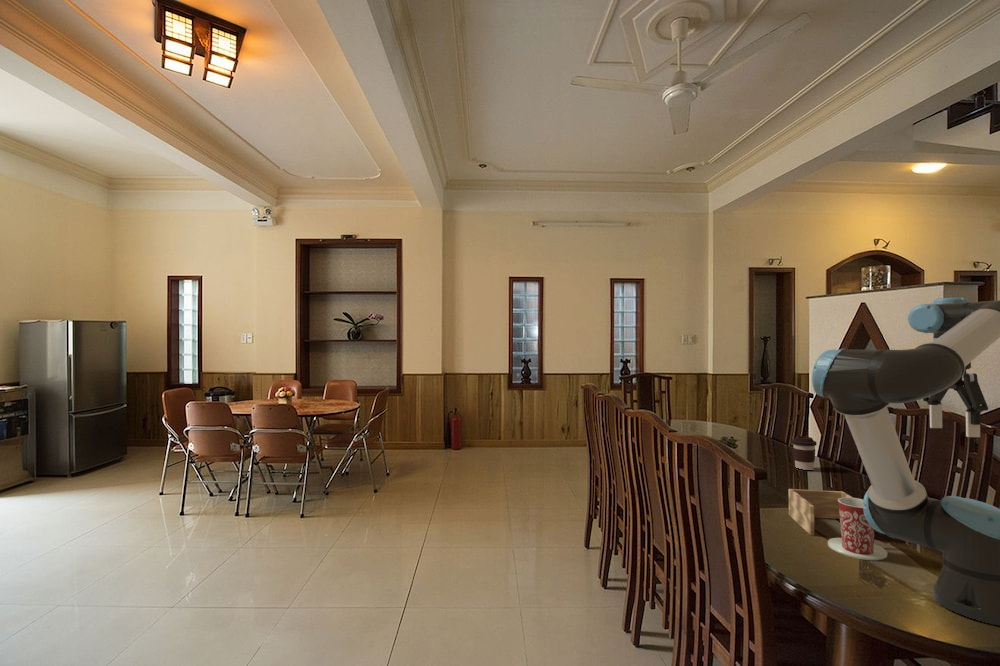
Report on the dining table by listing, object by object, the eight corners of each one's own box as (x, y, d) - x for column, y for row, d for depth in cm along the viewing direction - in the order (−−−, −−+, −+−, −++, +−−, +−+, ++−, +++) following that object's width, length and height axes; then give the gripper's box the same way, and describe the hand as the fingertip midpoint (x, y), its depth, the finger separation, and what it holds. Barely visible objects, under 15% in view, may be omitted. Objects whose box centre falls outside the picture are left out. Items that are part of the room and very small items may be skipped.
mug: (877, 559, 136) (876, 509, 136) (837, 551, 141) (836, 503, 141) (877, 544, 146) (876, 497, 146) (840, 537, 151) (839, 492, 151)
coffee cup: (796, 465, 241) (796, 434, 241) (820, 469, 233) (819, 437, 233) (788, 469, 234) (788, 437, 235) (812, 473, 227) (811, 440, 227)
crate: (872, 539, 151) (871, 509, 152) (810, 535, 155) (810, 506, 155) (843, 518, 170) (843, 491, 170) (788, 514, 173) (788, 488, 173)
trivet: (898, 562, 136) (898, 559, 136) (841, 558, 138) (841, 555, 138) (871, 542, 149) (871, 539, 149) (819, 538, 152) (819, 536, 152)
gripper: (1006, 355, 123) (1008, 441, 123) (935, 353, 148) (936, 424, 148) (971, 355, 124) (973, 440, 124) (907, 353, 149) (908, 424, 149)
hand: (953, 432), depth 136 cm, fingers open, 13 cm apart
